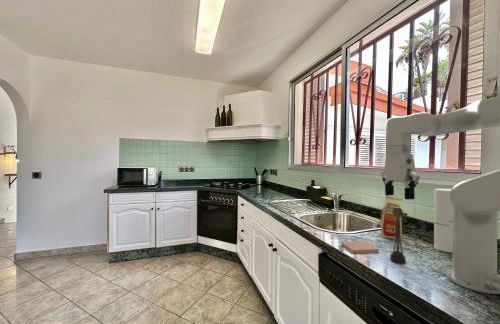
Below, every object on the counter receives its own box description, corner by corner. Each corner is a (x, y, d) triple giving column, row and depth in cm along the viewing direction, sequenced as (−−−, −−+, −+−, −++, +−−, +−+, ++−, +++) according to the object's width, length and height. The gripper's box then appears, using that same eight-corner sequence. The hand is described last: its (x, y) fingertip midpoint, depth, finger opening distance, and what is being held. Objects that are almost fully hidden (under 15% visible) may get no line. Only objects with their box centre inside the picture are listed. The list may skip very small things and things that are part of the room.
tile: (378, 249, 90) (352, 250, 89) (378, 253, 90) (352, 254, 89) (365, 241, 99) (341, 241, 98) (365, 245, 99) (341, 246, 98)
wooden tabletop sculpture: (411, 264, 79) (411, 208, 80) (400, 265, 79) (400, 209, 79) (397, 257, 85) (397, 205, 85) (387, 258, 84) (386, 205, 84)
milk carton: (382, 237, 108) (382, 196, 108) (380, 231, 116) (380, 193, 116) (404, 239, 104) (404, 197, 104) (400, 233, 112) (401, 194, 112)
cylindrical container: (461, 253, 89) (461, 191, 89) (440, 251, 90) (441, 190, 90) (449, 246, 96) (449, 188, 96) (430, 245, 97) (430, 188, 97)
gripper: (428, 149, 74) (429, 200, 74) (390, 152, 91) (391, 193, 91) (407, 149, 73) (408, 201, 73) (373, 152, 90) (374, 194, 90)
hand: (398, 197), depth 82 cm, fingers open, 9 cm apart
